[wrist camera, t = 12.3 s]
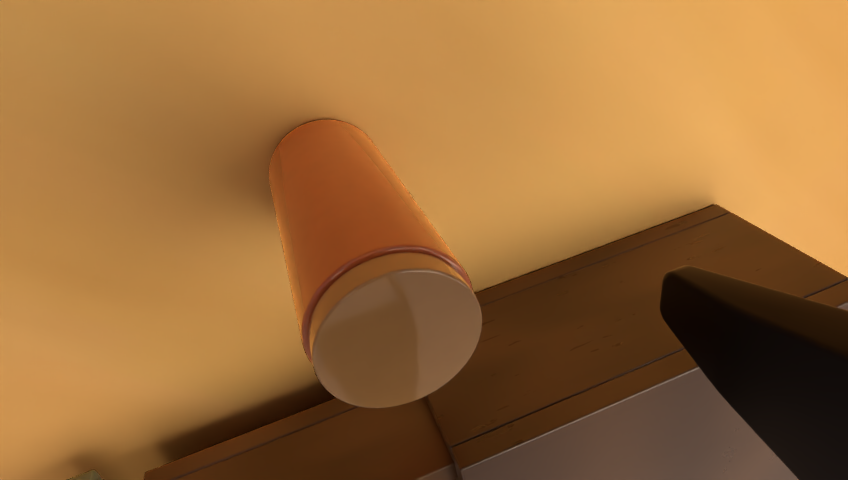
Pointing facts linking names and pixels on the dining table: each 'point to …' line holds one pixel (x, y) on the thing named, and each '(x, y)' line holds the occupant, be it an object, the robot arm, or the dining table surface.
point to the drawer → (324, 448)
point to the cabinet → (615, 364)
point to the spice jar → (367, 271)
